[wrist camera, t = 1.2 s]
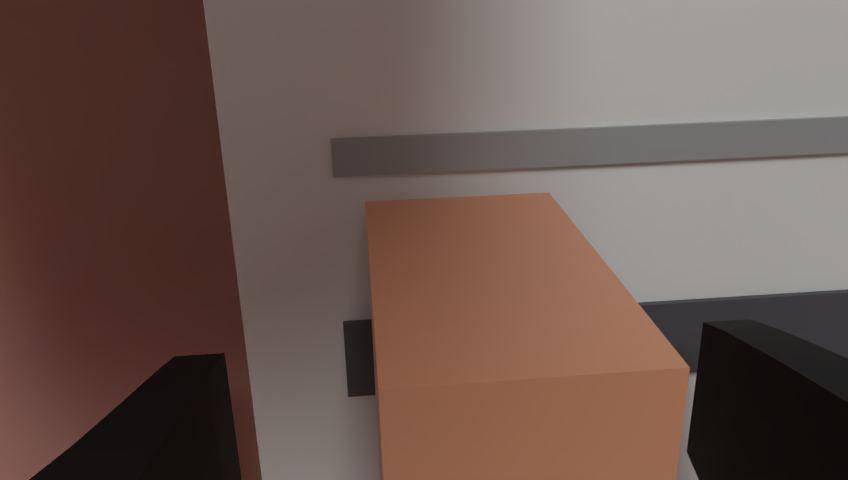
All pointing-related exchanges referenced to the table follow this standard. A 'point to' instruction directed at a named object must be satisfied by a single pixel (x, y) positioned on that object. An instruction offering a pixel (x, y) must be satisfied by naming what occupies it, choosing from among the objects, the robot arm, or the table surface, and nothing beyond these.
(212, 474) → the robot arm
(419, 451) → the block
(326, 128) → the mixer plate
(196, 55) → the table surface
